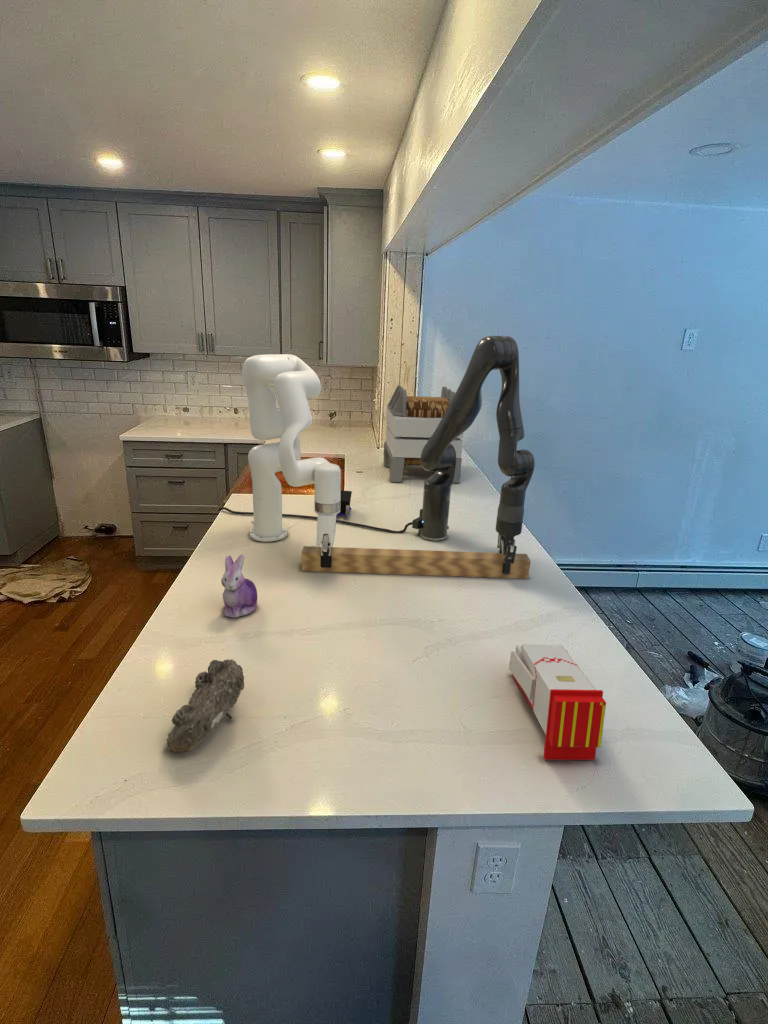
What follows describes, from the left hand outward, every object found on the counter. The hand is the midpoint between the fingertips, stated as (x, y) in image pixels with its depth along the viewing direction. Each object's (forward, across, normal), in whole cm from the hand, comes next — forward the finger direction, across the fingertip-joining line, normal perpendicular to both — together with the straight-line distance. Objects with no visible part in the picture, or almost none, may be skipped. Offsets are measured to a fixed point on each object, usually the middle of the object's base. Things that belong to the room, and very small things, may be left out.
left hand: (326, 562), depth 171 cm
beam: (+2, 0, +27) cm, 27 cm away
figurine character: (+2, -48, +2) cm, 48 cm away
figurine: (+2, +26, -20) cm, 33 cm away
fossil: (+2, +67, -16) cm, 69 cm away
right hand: (0, 0, +54) cm, 54 cm away
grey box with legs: (+2, -109, +36) cm, 115 cm away
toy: (+2, +62, +49) cm, 79 cm away
